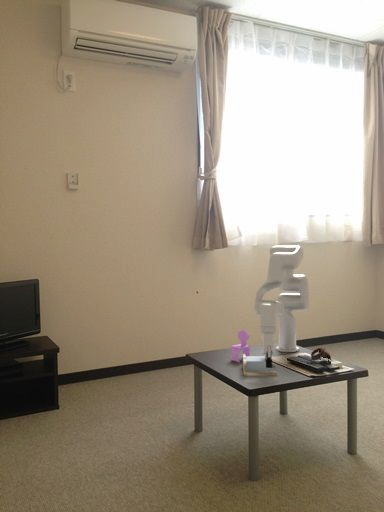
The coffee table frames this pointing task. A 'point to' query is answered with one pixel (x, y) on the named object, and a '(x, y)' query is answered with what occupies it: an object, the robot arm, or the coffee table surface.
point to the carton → (255, 364)
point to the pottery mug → (320, 354)
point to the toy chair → (240, 346)
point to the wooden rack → (257, 372)
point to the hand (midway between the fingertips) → (268, 367)
